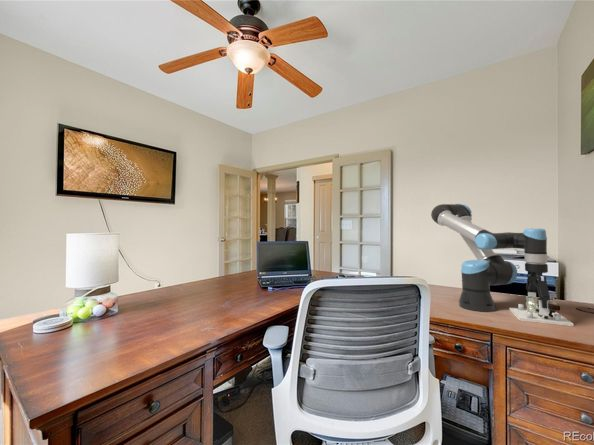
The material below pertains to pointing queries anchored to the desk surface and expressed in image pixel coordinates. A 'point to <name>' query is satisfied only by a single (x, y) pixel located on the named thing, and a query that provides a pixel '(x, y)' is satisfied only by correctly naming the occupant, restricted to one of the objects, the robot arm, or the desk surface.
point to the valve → (536, 306)
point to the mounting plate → (533, 317)
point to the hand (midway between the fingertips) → (537, 310)
